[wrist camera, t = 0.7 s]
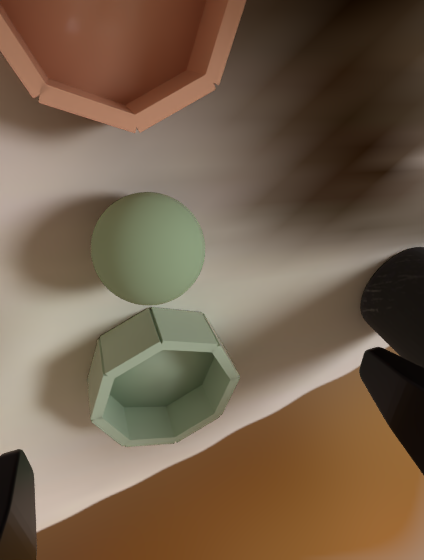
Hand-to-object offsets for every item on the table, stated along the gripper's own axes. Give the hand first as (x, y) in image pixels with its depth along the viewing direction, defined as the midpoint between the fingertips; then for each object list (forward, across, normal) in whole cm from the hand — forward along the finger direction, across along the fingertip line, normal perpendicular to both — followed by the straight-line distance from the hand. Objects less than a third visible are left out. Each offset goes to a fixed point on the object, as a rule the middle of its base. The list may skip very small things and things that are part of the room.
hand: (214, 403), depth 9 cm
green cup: (+12, 0, +10) cm, 15 cm away
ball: (+9, 0, 0) cm, 9 cm away
